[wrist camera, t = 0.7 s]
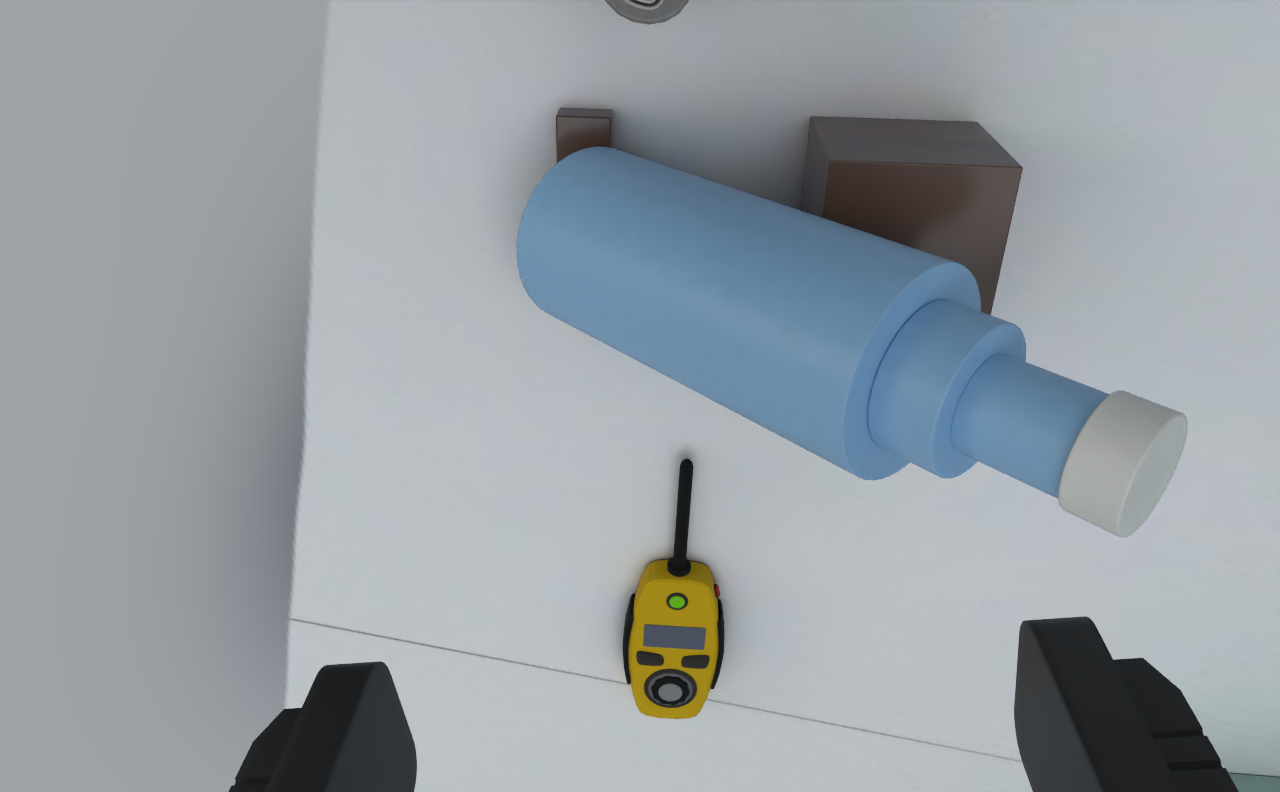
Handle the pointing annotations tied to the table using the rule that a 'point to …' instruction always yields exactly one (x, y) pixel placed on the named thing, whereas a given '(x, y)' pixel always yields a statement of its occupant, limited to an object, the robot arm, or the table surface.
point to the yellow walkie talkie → (674, 627)
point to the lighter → (647, 9)
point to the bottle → (830, 336)
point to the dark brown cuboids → (888, 182)
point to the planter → (1255, 783)
